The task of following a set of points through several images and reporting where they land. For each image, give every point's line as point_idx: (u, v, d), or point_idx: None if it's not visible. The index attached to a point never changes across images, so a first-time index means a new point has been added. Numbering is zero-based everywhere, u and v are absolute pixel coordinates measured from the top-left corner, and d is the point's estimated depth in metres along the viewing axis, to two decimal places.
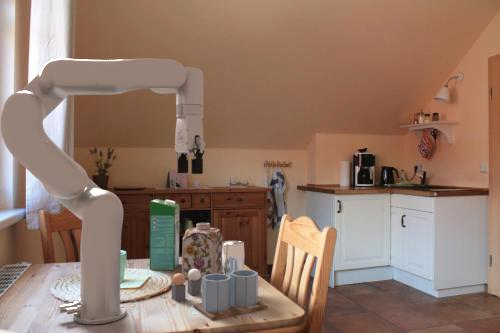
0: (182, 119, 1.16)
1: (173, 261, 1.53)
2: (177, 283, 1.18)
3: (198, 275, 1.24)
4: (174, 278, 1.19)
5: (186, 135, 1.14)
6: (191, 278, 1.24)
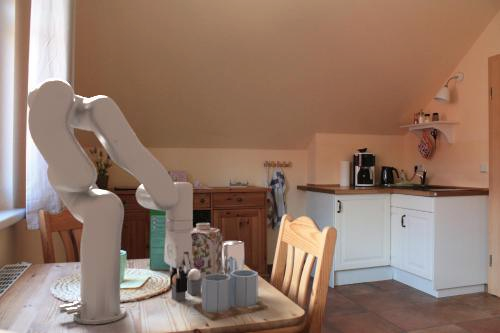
0: (171, 234, 1.18)
1: None
2: None
3: (198, 275, 1.24)
4: (174, 278, 1.19)
5: (175, 252, 1.15)
6: (191, 278, 1.24)
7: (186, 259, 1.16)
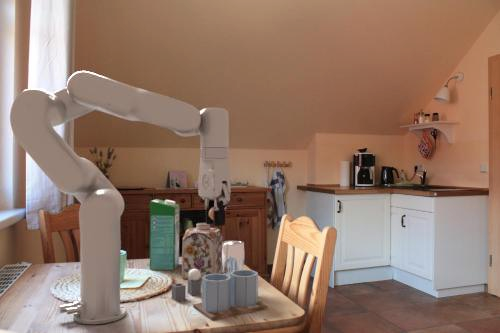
0: (207, 163, 1.09)
1: (173, 261, 1.53)
2: None
3: (198, 275, 1.24)
4: (211, 211, 1.10)
5: (213, 181, 1.07)
6: (191, 278, 1.24)
7: (225, 188, 1.07)
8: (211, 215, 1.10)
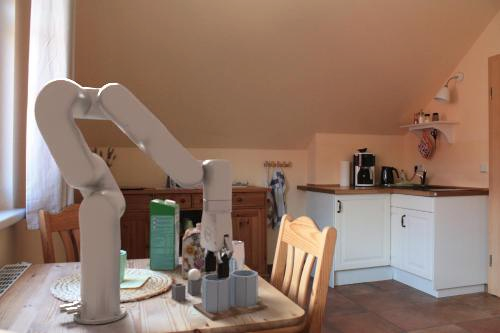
0: (209, 215, 1.08)
1: (173, 261, 1.53)
2: None
3: (198, 275, 1.24)
4: None
5: (214, 234, 1.06)
6: (191, 278, 1.24)
7: None
8: None
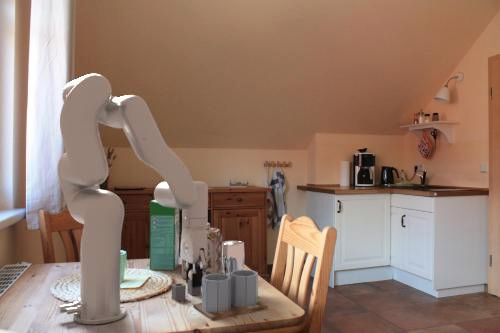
0: (187, 231, 1.23)
1: (173, 261, 1.53)
2: None
3: None
4: None
5: (191, 248, 1.21)
6: (191, 278, 1.24)
7: (202, 255, 1.21)
8: None
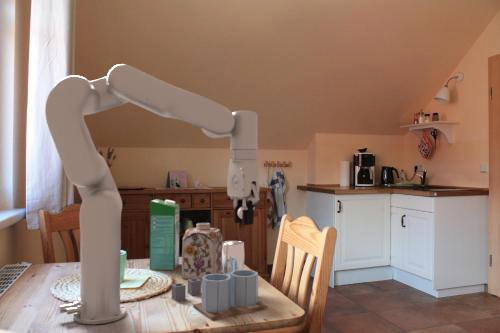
0: (237, 164, 1.13)
1: (173, 261, 1.53)
2: None
3: None
4: None
5: (242, 181, 1.11)
6: (241, 215, 1.14)
7: (254, 189, 1.11)
8: None
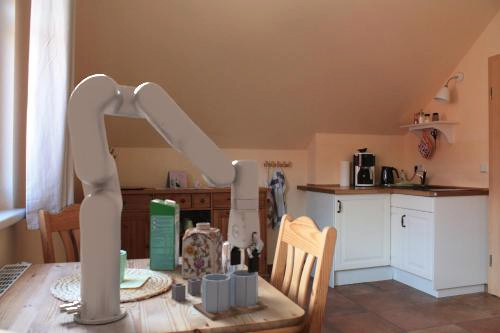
0: (238, 213, 1.13)
1: (173, 261, 1.53)
2: None
3: None
4: None
5: (243, 232, 1.10)
6: None
7: None
8: None
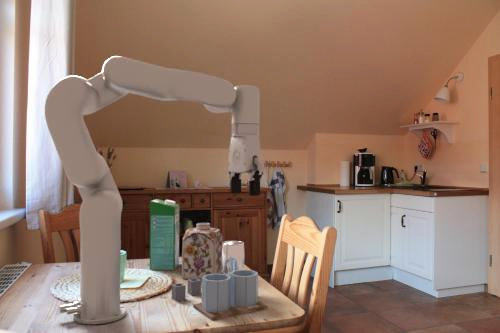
0: (238, 138, 1.13)
1: (173, 261, 1.53)
2: None
3: None
4: None
5: (244, 155, 1.10)
6: None
7: None
8: None
